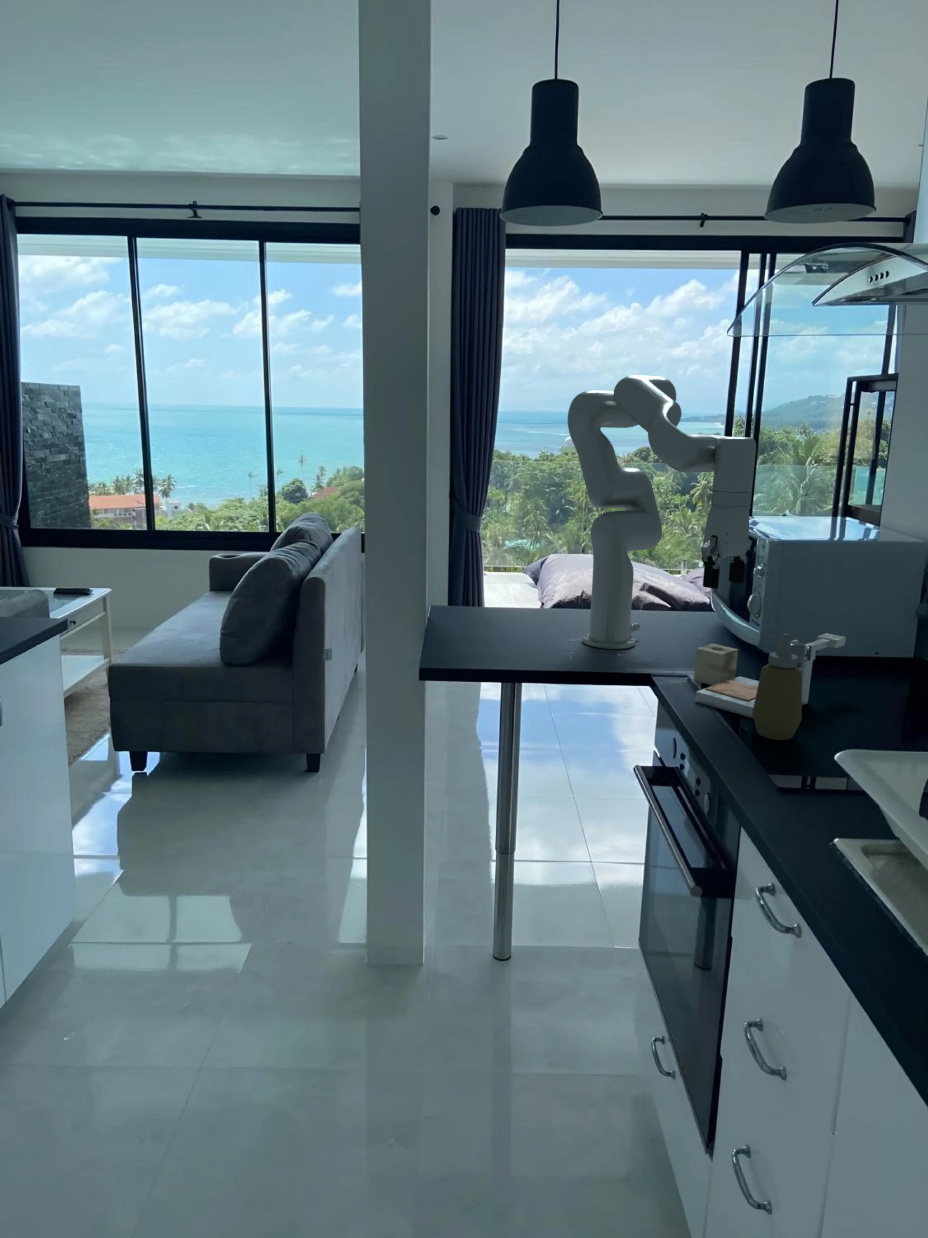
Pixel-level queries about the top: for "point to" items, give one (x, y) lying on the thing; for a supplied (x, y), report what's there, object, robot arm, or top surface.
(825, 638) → the press lever
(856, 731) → the top surface
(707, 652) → the maple block
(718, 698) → the press
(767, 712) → the squeeze bottle
